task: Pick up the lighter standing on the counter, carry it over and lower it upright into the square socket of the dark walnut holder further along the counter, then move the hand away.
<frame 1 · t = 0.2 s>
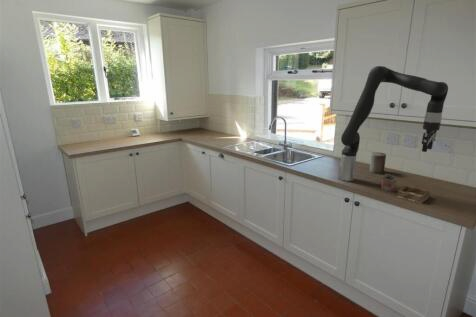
hand: (426, 150, 157), 28 cm above the worktop, tool pointing down, fingers open, 8 cm apart
walnut holder: (412, 196, 167), on the worktop
pillar candle: (376, 172, 211), on the worktop
lighter: (387, 190, 177), on the worktop
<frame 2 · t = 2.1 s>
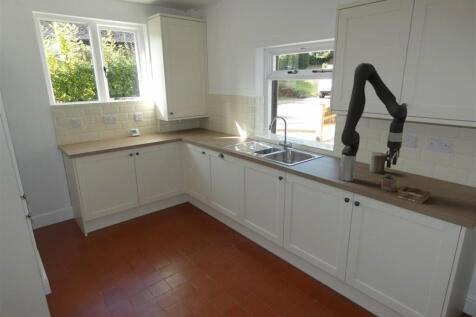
hand: (391, 166, 172), 15 cm above the worktop, tool pointing down, fingers open, 8 cm apart
nothing on the worktop moved.
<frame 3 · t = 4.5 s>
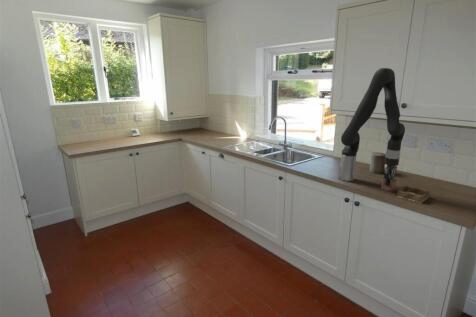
hand: (388, 183, 175), 4 cm above the worktop, tool pointing down, fingers closed on lighter, 3 cm apart
lighter: (387, 190, 177), on the worktop, touching gripper
everything else where it was.
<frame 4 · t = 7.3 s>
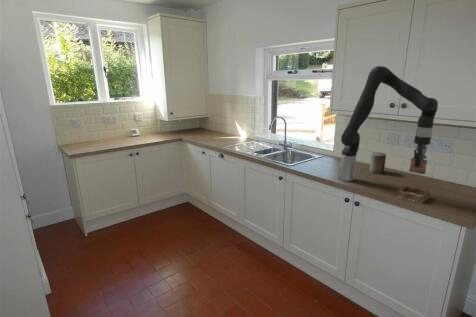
hand: (418, 165, 161), 19 cm above the worktop, tool pointing down, fingers closed on lighter, 3 cm apart
lighter: (416, 172, 163), point 15 cm above the worktop, touching gripper
everything else where it was.
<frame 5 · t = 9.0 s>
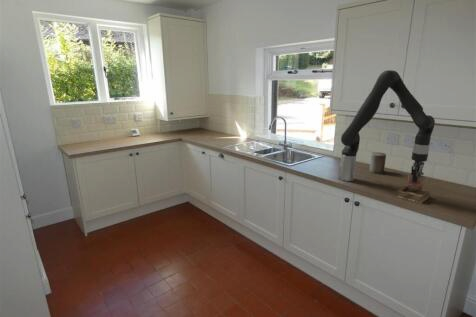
hand: (415, 180, 164), 10 cm above the worktop, tool pointing down, fingers closed on lighter, 3 cm apart
lighter: (414, 188, 165), point 5 cm above the worktop, touching gripper
everything else where it was.
when the fingers open (6 cm above the worktop, at t = 10.4 s): lighter drops 1 cm, resting on walnut holder.
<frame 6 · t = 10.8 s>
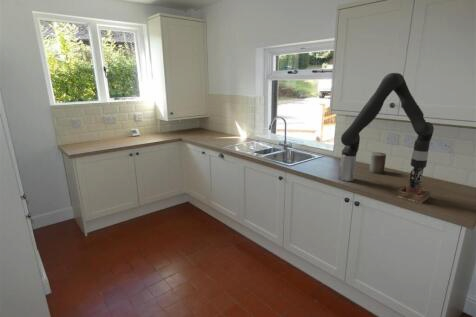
hand: (414, 185, 165), 7 cm above the worktop, tool pointing down, fingers open, 7 cm apart
lighter: (412, 196, 167), resting on walnut holder
everything else where it was.
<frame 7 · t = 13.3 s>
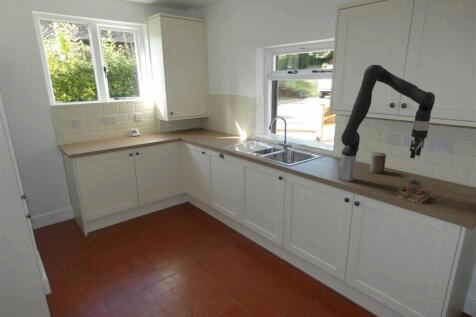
hand: (415, 156, 164), 23 cm above the worktop, tool pointing down, fingers open, 8 cm apart
nothing on the worktop moved.
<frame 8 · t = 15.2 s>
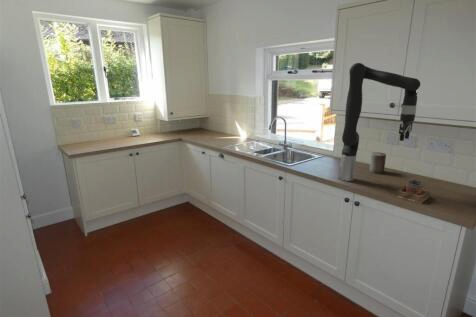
hand: (404, 139, 175), 30 cm above the worktop, tool pointing down, fingers open, 8 cm apart
nothing on the worktop moved.
at the end: lighter 0.1 cm off-centre on the walnut holder, point 0.3 cm above the walnut holder's base; lighter tilted 0°; the gripper is holding nothing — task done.
